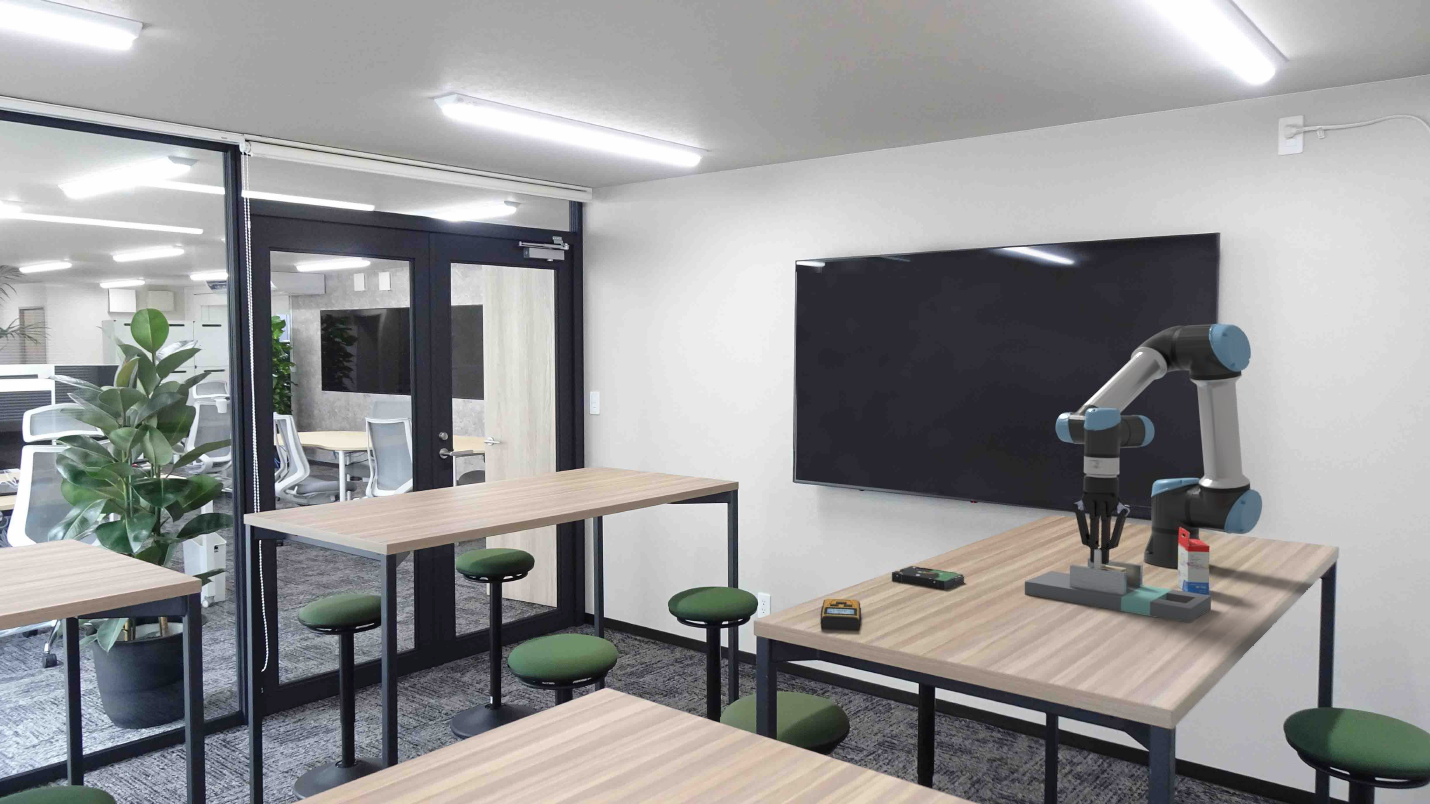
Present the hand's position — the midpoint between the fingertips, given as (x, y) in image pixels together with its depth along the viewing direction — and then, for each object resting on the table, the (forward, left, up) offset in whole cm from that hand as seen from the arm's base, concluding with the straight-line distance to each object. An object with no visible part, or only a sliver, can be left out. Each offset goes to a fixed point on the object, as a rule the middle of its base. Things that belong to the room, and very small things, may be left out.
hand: (1099, 577), depth 214 cm
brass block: (0, +3, -2) cm, 3 cm away
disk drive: (+12, -38, -6) cm, 40 cm away
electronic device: (+55, -33, -6) cm, 65 cm away
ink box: (-23, +14, -5) cm, 27 cm away
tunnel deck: (0, +4, -5) cm, 6 cm away
